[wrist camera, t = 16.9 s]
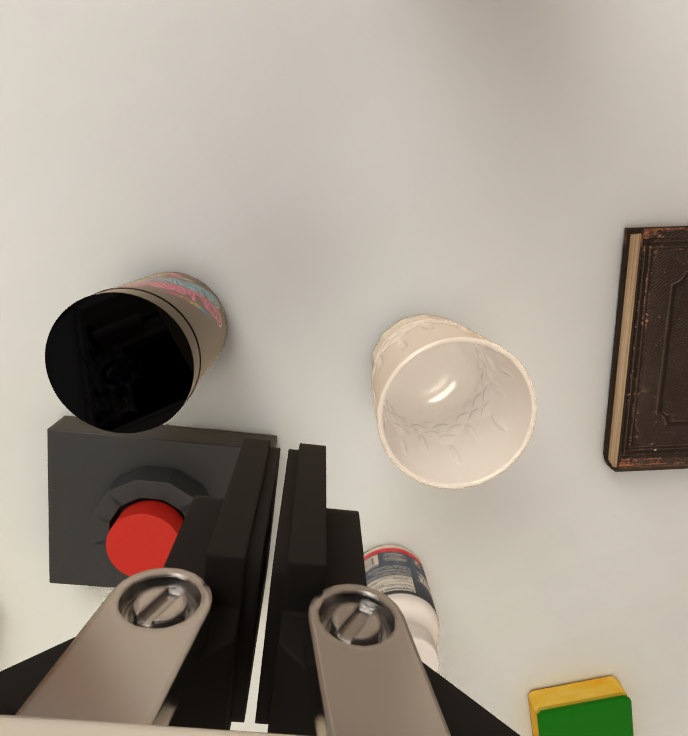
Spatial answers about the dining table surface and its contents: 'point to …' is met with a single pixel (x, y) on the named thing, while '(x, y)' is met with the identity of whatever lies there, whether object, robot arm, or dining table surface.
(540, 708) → the dish sponge
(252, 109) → the dining table surface
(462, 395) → the white cup
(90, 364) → the supplement container
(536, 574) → the dining table surface
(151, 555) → the button
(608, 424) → the hardcover book
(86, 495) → the control box
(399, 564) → the pill bottle
